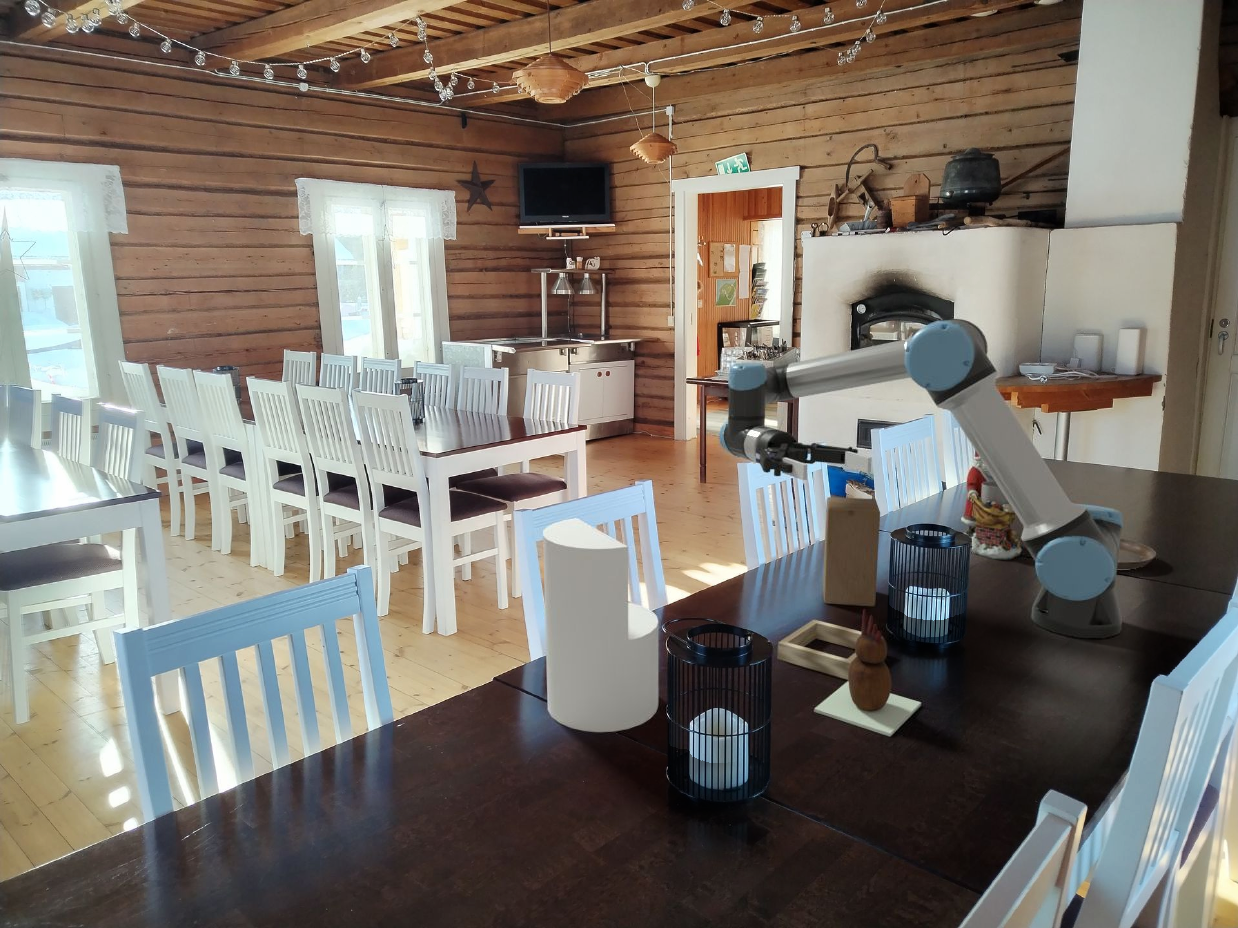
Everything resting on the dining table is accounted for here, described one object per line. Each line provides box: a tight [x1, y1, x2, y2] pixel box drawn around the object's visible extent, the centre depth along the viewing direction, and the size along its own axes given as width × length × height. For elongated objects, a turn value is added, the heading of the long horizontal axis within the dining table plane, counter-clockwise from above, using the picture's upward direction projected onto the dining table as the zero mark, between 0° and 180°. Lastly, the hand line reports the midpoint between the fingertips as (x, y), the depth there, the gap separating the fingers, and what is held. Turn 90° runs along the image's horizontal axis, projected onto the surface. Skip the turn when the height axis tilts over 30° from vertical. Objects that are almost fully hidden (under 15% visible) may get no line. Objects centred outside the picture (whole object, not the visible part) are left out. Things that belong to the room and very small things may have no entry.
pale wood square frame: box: [776, 619, 884, 681], centre depth 153 cm, size 13×13×3 cm
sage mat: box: [813, 680, 922, 737], centre depth 135 cm, size 12×12×1 cm
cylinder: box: [542, 517, 659, 733], centre depth 134 cm, size 17×17×28 cm
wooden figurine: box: [847, 608, 892, 711], centre depth 133 cm, size 7×6×15 cm
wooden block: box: [822, 496, 881, 607], centre depth 179 cm, size 10×10×20 cm
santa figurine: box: [960, 449, 1023, 560], centre depth 210 cm, size 17×14×25 cm
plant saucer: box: [1117, 538, 1157, 570], centre depth 204 cm, size 21×21×3 cm
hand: (838, 468), depth 153 cm, fingers open, 13 cm apart
